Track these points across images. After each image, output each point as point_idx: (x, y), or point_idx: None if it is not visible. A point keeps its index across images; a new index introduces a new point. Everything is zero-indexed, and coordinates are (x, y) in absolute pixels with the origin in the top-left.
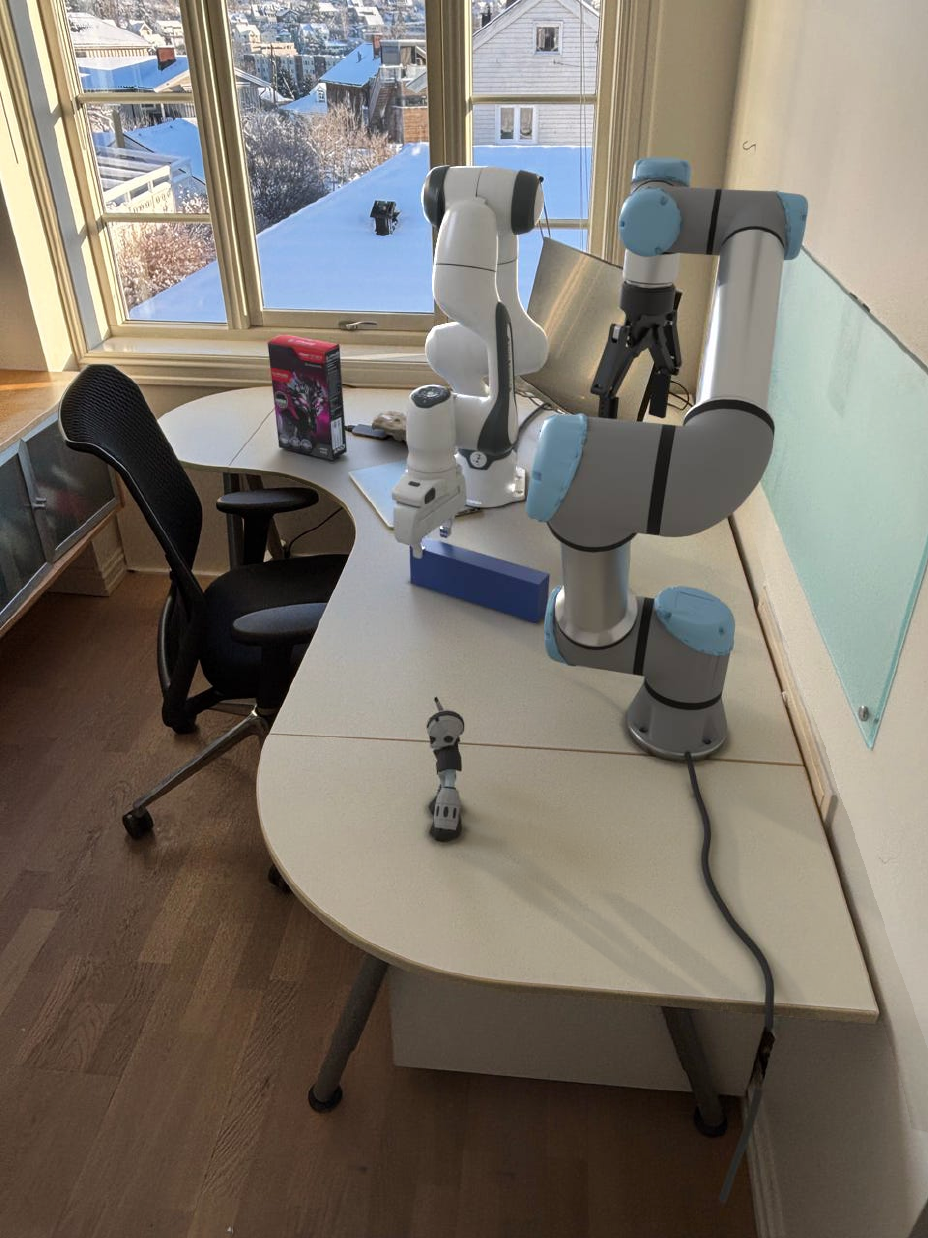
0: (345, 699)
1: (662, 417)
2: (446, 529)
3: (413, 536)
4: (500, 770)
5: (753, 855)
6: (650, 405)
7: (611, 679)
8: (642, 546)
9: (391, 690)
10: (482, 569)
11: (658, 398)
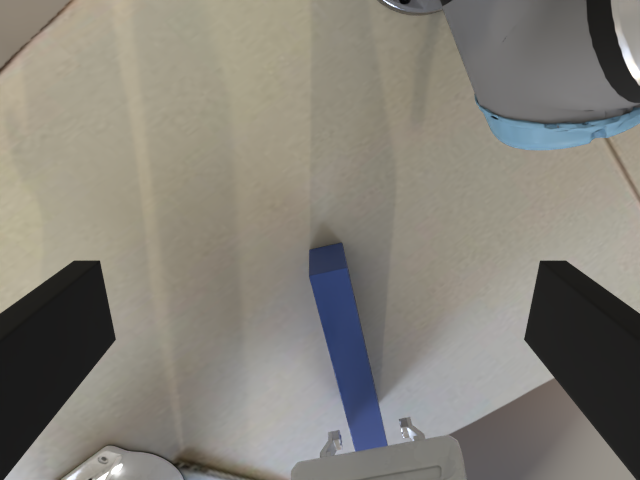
0: None
1: (97, 266)
2: (338, 441)
3: (456, 446)
4: None
5: None
6: (91, 363)
7: (380, 84)
8: (60, 261)
9: None
10: (365, 348)
11: (49, 356)
